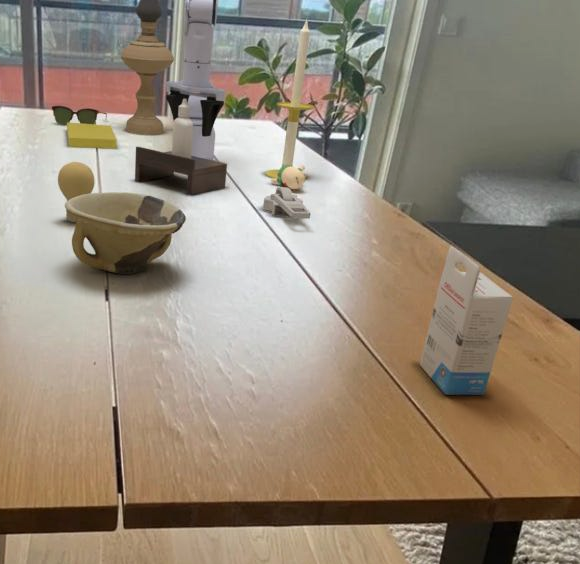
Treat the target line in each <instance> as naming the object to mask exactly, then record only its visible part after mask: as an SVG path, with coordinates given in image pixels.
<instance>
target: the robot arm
mask: <svg viewBox="0 0 580 564" xmlns="http://www.w3.org/2000/svg"><path fill="white" fill-rule="evenodd" d="M218 4H219V0H184V9H183V10H184V11H183V22H184V37H185V38H184V45H183V47H184V48H183V66H182V79H181V80H179V81H174V80H171V81H166V86H165V91H166V93H167V92H168V93H169V94H165V99H166V102H167V103H168V106H169V109H170V111H171V115H172V120H173V122H174V120H175V119H176V118H178V117H179V116H178V110H179V106H180V105H181V104H182V102H183V99H187V105H188V106H190V117H189V118H190V120H191V121H192V123H193V139H192V155H191V156H195V157H199V158H204V159H208V160H213V161H217V159H214V157H215V145H216V130H215V128H214V125H215V122H216V119H217V118H218V115H219V113H220V112H221V110H222V108H223V106H224V105H225V100H226V95H227V89H223V88H218V87H215V85H214V83H212V82H211V70H212V69H211V68H212V55H213V42H214V31H215V29H214V28H216V25H217V20H218V19H217V18H218V7H219V5H218Z"/></svg>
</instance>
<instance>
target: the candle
mask: <svg viewBox="0 0 580 564" xmlns="http://www.w3.org/2000/svg"><path fill="white" fill-rule="evenodd" d="M308 22H309V21H308V19H306V20H305V22H304V24H303V26H302V28H301V30H300V31H299V37H298V38H299V39H298V45H297V54H296V60H295V61H296V63H295V67H294V75H293V83H292V92H291V93H292V94H291V100H290V101H279V102H277V103H276V106H277V107H279V108H282V109H287V110H288V116H287V123H286V131H285V139H284V146H283V154H282V163H281V167H282V166H284V165H291V166H293V164H294V157H295V150H296V142H297V137H298V127H299V120H300V113H301V111H310V110H313V109H314V107H315V106H314V105H312V104H309V103H302V102H301V101H302V95H303V94H302V93H303V86H304V79H305V78H304V77H305V72H306V71H305V70H306V64H307V56H308V50H309V41H310V35H311V31H310V29H309V23H308ZM279 170H280V169H268V170H266V171H265V172H264V175H265V176H266V177H268V178H271V179H274V178H278V172H279ZM303 174H304V180H306V179H307V177H308V176H307V174H305V173H303Z"/></svg>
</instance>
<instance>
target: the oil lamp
mask: <svg viewBox="0 0 580 564" xmlns="http://www.w3.org/2000/svg"><path fill="white" fill-rule="evenodd" d="M162 12H163V11H162V7H161V5H160V1H159V0H139V2H138V4H137V6H136V8H135V13H136V15H137V17H138V18H139V19H140V27H139V28H140V29H141V32H140V34H139V35H138V38H137V39H136V40H130V42H129V44H128V45H126V46H124V48H123V49H122V51H121V52H120V55H119V56H120V59H121V61H122V62H123V63H124V65H126V67H128V68H129V69H130V70H132V71H134V72H135V73H136V74H137V75H138V77H139V79H140V86H139V89H138V90H137V92H136V93H135V99H136V103H137V107H136V110H135V112H134V114H133V115H132V116H131V117H129V118H128V119H127V120H126V123H125V132H127V133H130V134H134V135H144V136H158V135H162V134H164V123H163V121H161V119H160V118H159V117H157V115H156V113H155V110H154V104H155V100H156V99H157V95H156V93H155V92H154V91H155V90H154V89H153V87H152V86H153V85H152V84H153V80H154V78H155V76H157V75H158V73H161V72H163V71H165V70H167V69H168V68H170V66H171V65H172V64H173V63H174V61H175V57H174V55H173V53H172V51H171V50H170V49H169V48H167V47H166V44H165V42H162V41H161V42H160V41H159V40H158V37H157V35H155V34H156V30H157V21H158V20H159V19H160V18H161V16H162V14H163V13H162ZM136 34H138V31H137V32H136V30H134V33H133V35H134V36H136Z"/></svg>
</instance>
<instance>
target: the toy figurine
mask: <svg viewBox="0 0 580 564" xmlns="http://www.w3.org/2000/svg"><path fill="white" fill-rule="evenodd" d="M305 169H306V167H305V165H303V164H302V165H300V166H299V167H295V166H293V165H292V166H291V165H284V166H282V165H281V167H280V168H279V169H278V170H279V172H278V178H271V180H270V183H271V184H272V185H275V184H279V183H282V185H283V186H284V187H285V188H289V189H290V190H291V191H295V190H298V189H300V188H301V187H303V185H304V183H305V179H304V174H305V173H304V172H303V171H305Z"/></svg>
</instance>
